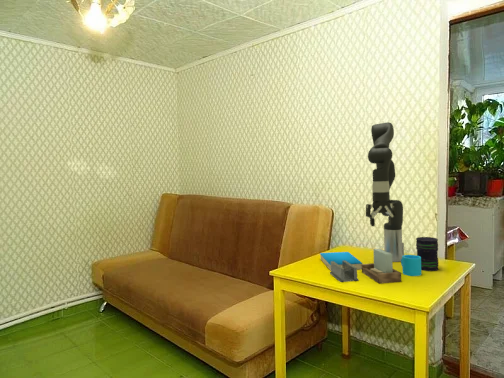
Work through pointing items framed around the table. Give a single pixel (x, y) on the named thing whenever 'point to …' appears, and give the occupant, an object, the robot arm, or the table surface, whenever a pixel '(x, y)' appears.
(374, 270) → the birch offcut
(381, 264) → the blue-grey panel
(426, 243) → the storage jar
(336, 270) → the charcoal stand
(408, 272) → the mug
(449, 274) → the table surface
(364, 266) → the brown wooden tray
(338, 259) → the book
